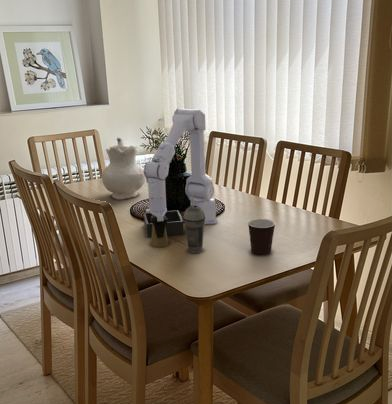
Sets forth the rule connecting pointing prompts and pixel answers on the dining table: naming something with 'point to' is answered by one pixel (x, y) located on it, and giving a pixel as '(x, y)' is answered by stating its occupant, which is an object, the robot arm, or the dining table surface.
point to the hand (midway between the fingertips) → (159, 234)
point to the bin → (172, 225)
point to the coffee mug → (261, 236)
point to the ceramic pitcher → (123, 172)
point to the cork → (158, 241)
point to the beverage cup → (194, 227)
